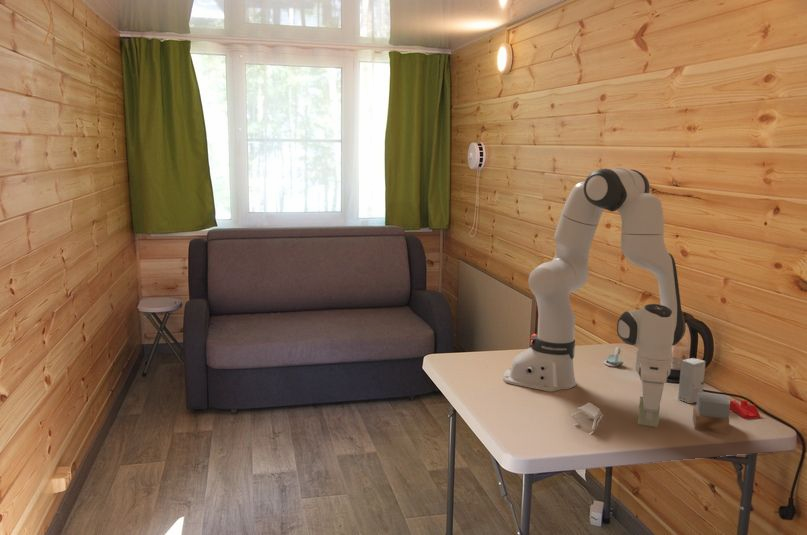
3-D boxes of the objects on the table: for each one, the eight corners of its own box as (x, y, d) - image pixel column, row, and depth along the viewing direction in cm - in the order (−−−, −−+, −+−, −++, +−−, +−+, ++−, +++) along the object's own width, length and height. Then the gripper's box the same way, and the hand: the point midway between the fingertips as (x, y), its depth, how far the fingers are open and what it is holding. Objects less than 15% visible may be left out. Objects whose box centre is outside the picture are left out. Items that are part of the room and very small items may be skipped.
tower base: (694, 430, 180) (696, 415, 179) (692, 418, 188) (693, 405, 187) (727, 434, 178) (729, 420, 177) (724, 423, 185) (725, 409, 184)
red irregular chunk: (729, 410, 194) (730, 400, 193) (744, 409, 195) (745, 400, 194) (744, 419, 188) (745, 409, 187) (759, 418, 189) (760, 408, 188)
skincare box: (690, 404, 197) (694, 364, 195) (676, 399, 201) (680, 360, 199) (702, 400, 201) (707, 361, 198) (689, 395, 204) (693, 356, 202)
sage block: (638, 424, 182) (640, 402, 181) (638, 417, 187) (640, 396, 186) (657, 426, 181) (659, 405, 180) (657, 419, 186) (659, 399, 184)
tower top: (699, 415, 180) (700, 401, 179) (696, 405, 186) (697, 392, 186) (728, 419, 178) (729, 404, 177) (724, 409, 184) (725, 395, 184)
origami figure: (564, 419, 185) (565, 402, 184) (593, 418, 186) (595, 401, 185) (582, 438, 173) (583, 420, 172) (613, 436, 174) (614, 418, 174)
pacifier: (607, 368, 228) (624, 368, 228) (607, 350, 227) (625, 350, 227) (601, 361, 236) (618, 361, 235) (601, 344, 234) (619, 343, 234)
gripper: (640, 353, 192) (636, 399, 194) (640, 376, 173) (636, 427, 175) (664, 355, 190) (659, 402, 192) (667, 379, 171) (662, 430, 173)
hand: (648, 414), depth 184 cm, fingers closed on sage block, 5 cm apart
